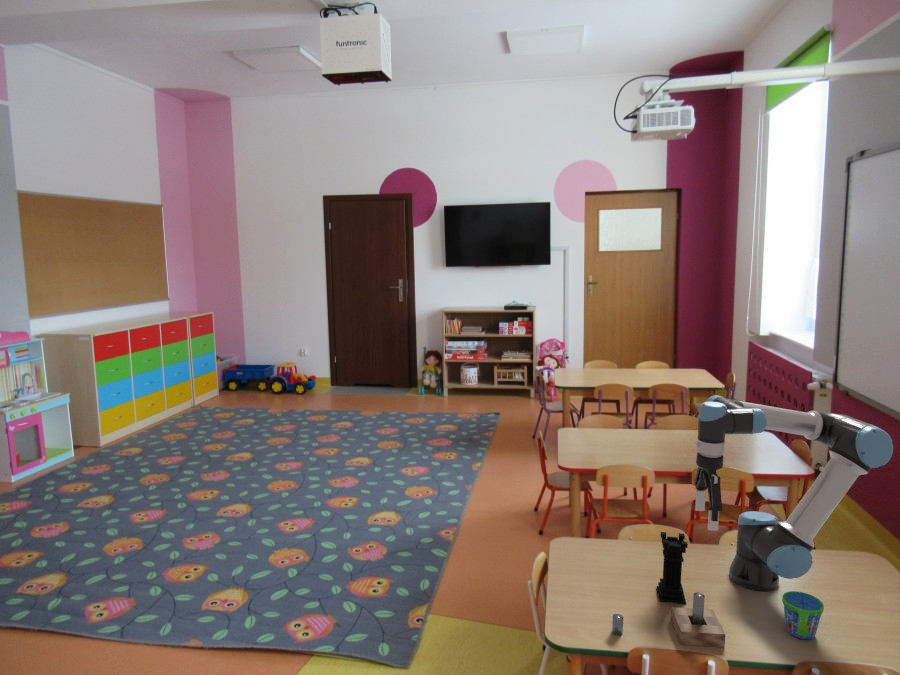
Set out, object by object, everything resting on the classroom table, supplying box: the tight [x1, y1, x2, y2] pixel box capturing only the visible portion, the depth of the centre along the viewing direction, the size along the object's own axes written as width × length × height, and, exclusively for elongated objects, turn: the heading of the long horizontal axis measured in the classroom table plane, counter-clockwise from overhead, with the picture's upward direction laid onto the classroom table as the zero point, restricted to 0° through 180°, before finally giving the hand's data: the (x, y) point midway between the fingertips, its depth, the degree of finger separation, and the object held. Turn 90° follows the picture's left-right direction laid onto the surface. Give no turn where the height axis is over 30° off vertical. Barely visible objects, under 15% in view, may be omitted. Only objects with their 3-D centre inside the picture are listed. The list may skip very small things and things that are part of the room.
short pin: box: [611, 613, 624, 637], centre depth 185 cm, size 3×3×5 cm
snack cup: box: [781, 590, 825, 640], centre depth 184 cm, size 16×11×10 cm
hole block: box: [670, 607, 726, 648], centre depth 185 cm, size 12×12×4 cm
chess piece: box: [656, 531, 689, 605], centre depth 202 cm, size 8×8×20 cm
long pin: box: [692, 591, 705, 625], centre depth 184 cm, size 3×3×12 cm
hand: (706, 520), depth 194 cm, fingers open, 13 cm apart
